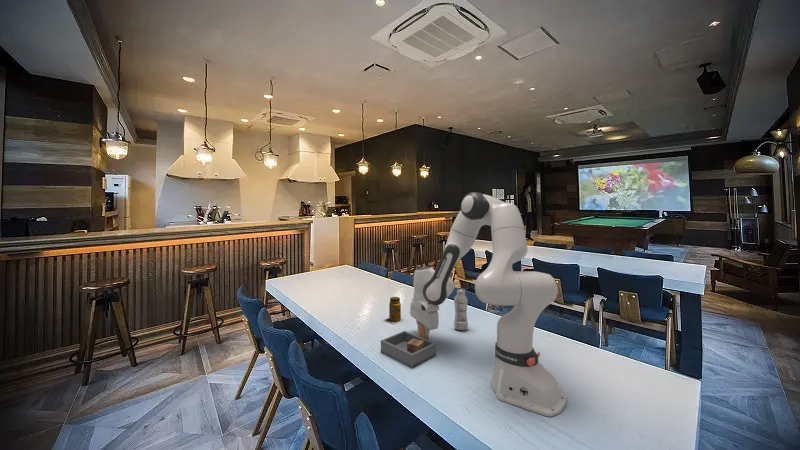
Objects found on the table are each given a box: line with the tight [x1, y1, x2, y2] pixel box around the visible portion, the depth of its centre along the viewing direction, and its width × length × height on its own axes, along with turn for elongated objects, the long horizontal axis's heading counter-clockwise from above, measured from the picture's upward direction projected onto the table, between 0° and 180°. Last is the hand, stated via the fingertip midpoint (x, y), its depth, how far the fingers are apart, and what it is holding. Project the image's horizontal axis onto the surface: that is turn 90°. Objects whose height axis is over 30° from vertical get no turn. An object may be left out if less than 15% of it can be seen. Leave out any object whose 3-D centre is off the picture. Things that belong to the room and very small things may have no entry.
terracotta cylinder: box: [417, 322, 430, 341], centre depth 139 cm, size 5×5×7 cm
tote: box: [380, 330, 437, 369], centre depth 125 cm, size 18×14×5 cm
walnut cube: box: [407, 339, 424, 353], centre depth 123 cm, size 5×5×5 cm
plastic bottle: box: [453, 287, 469, 331], centre depth 149 cm, size 6×7×20 cm
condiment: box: [383, 296, 404, 325], centre depth 162 cm, size 7×8×12 cm
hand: (423, 332), depth 140 cm, fingers closed on terracotta cylinder, 5 cm apart
